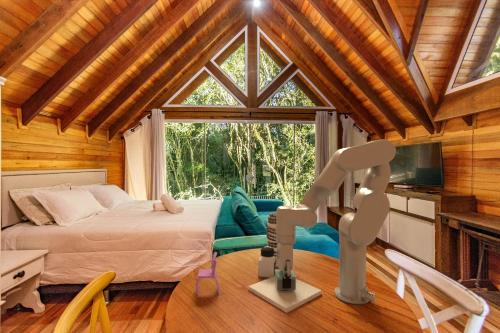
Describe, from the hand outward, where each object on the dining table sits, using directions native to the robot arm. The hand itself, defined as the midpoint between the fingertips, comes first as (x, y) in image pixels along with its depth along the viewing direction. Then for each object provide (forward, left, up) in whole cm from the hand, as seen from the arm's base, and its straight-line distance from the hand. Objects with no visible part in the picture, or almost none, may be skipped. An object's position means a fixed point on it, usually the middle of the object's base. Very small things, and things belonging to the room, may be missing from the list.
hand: (284, 283), depth 102 cm
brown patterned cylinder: (+23, -18, -4) cm, 29 cm away
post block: (0, 0, -4) cm, 4 cm away
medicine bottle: (+16, -6, -4) cm, 18 cm away
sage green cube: (0, 0, -1) cm, 1 cm away
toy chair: (+19, +23, -4) cm, 30 cm away
